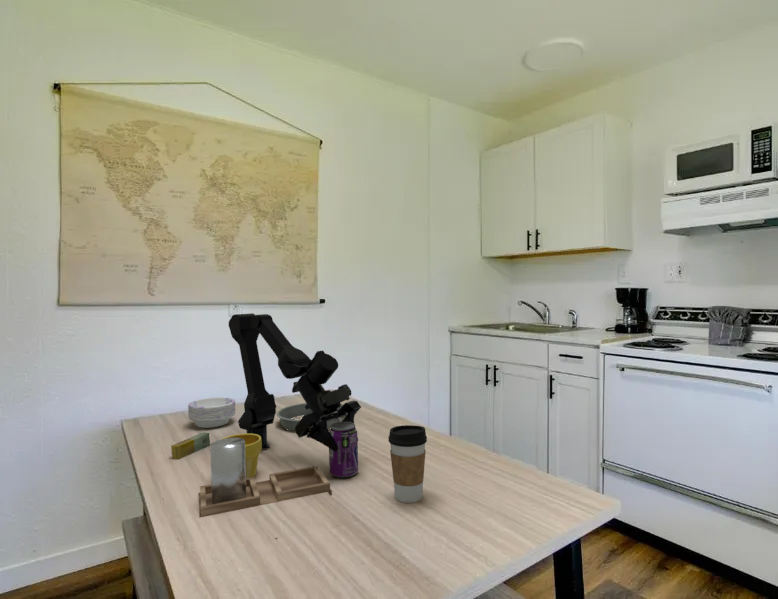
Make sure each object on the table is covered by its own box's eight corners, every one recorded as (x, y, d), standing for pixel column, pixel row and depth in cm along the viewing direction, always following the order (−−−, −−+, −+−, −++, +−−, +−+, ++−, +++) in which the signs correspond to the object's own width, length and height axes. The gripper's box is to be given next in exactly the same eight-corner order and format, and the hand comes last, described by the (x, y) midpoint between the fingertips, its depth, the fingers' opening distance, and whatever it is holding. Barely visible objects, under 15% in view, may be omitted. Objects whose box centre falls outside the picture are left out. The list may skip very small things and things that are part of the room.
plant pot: (209, 481, 109) (208, 441, 108) (247, 468, 116) (246, 430, 116) (232, 493, 102) (231, 450, 102) (271, 478, 110) (270, 438, 110)
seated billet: (211, 495, 99) (209, 440, 99) (244, 489, 102) (243, 436, 101) (212, 509, 92) (210, 450, 92) (248, 502, 95) (246, 445, 95)
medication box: (203, 445, 136) (203, 431, 136) (210, 445, 135) (210, 432, 135) (171, 459, 124) (170, 445, 124) (178, 460, 123) (177, 445, 123)
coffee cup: (416, 509, 93) (415, 436, 92) (382, 499, 97) (380, 430, 97) (434, 493, 100) (433, 425, 100) (401, 485, 104) (400, 420, 104)
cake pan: (362, 418, 160) (362, 405, 160) (318, 438, 139) (317, 424, 139) (309, 410, 173) (309, 398, 173) (261, 427, 152) (260, 414, 152)
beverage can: (353, 480, 107) (352, 430, 107) (325, 478, 109) (324, 429, 108) (361, 468, 114) (360, 421, 114) (334, 467, 116) (333, 420, 115)
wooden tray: (198, 497, 100) (198, 486, 100) (318, 475, 111) (317, 465, 111) (199, 522, 89) (199, 509, 89) (331, 495, 100) (331, 484, 100)
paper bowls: (245, 421, 159) (244, 399, 158) (207, 433, 146) (206, 409, 146) (217, 416, 167) (216, 394, 167) (179, 427, 154) (178, 403, 154)
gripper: (302, 382, 106) (337, 437, 99) (355, 370, 121) (388, 417, 114) (280, 410, 111) (313, 465, 104) (334, 395, 126) (365, 442, 119)
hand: (347, 446), depth 110 cm, fingers closed on beverage can, 7 cm apart
